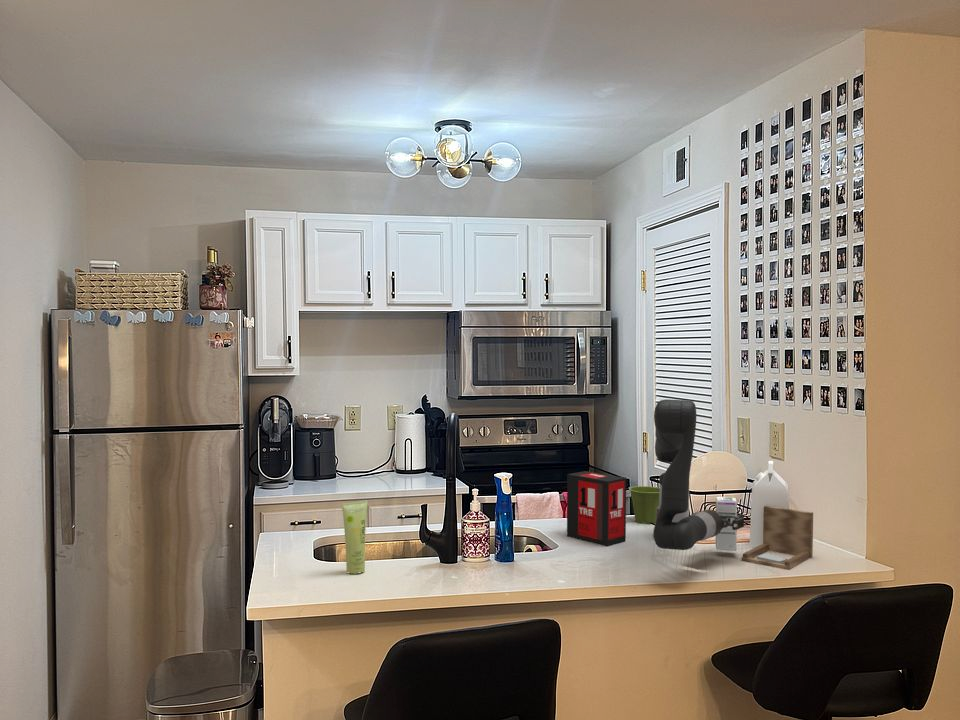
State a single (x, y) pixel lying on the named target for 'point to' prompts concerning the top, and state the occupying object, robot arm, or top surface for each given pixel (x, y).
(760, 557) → the grey offcut
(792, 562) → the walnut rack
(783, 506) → the milk
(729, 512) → the syrup box
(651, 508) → the plant pot
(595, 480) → the cleaning product box
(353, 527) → the tube
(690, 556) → the top surface
